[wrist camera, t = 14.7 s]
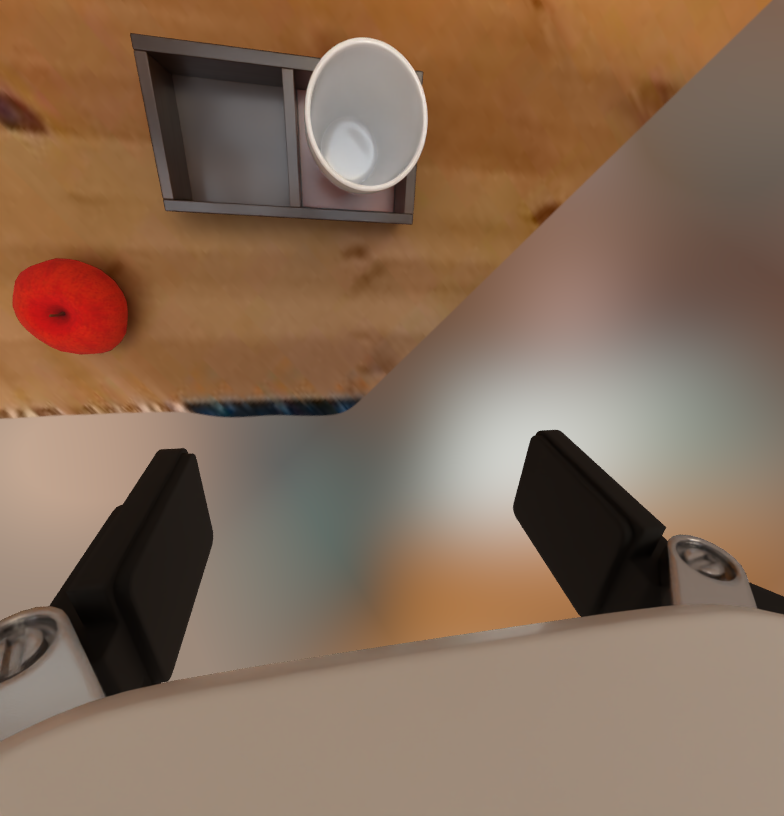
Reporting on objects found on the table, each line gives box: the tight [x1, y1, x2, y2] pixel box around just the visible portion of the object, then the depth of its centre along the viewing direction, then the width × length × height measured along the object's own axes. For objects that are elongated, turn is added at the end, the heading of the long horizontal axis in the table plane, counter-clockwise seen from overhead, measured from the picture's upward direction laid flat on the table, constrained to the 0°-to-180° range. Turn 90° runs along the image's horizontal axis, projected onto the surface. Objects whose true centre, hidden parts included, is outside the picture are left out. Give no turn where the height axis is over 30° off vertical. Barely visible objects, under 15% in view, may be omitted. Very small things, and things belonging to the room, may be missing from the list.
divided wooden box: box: [130, 33, 423, 225], centre depth 31 cm, size 10×19×6 cm, turn 87°
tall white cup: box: [304, 37, 428, 195], centre depth 26 cm, size 7×7×15 cm
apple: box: [13, 258, 128, 354], centre depth 32 cm, size 8×8×7 cm
